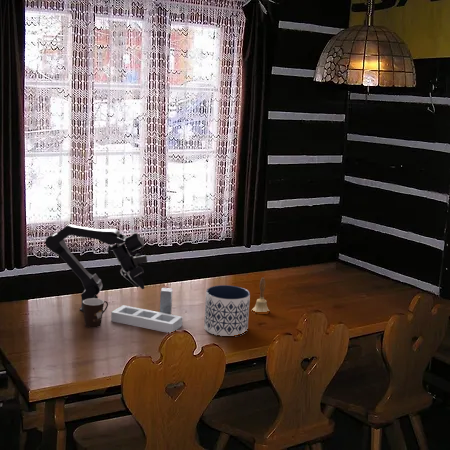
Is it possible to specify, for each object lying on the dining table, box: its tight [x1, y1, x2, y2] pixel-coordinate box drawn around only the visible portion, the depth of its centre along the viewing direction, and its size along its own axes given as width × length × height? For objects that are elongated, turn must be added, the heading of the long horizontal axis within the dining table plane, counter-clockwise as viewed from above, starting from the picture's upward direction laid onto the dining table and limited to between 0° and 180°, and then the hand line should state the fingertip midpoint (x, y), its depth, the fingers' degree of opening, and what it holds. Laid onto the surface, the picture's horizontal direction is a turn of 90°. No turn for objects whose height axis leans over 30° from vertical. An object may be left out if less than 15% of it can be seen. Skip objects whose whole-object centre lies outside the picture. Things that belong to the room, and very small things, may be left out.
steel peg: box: [159, 287, 173, 315], centre depth 299 cm, size 4×4×12 cm
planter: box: [203, 284, 251, 337], centre depth 287 cm, size 18×18×16 cm
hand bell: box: [251, 277, 270, 312], centre depth 311 cm, size 8×8×16 cm
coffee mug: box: [83, 298, 109, 329], centre depth 284 cm, size 12×9×10 cm
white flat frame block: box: [110, 304, 183, 334], centre depth 289 cm, size 28×10×4 cm, turn 69°
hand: (140, 287), depth 298 cm, fingers open, 9 cm apart
